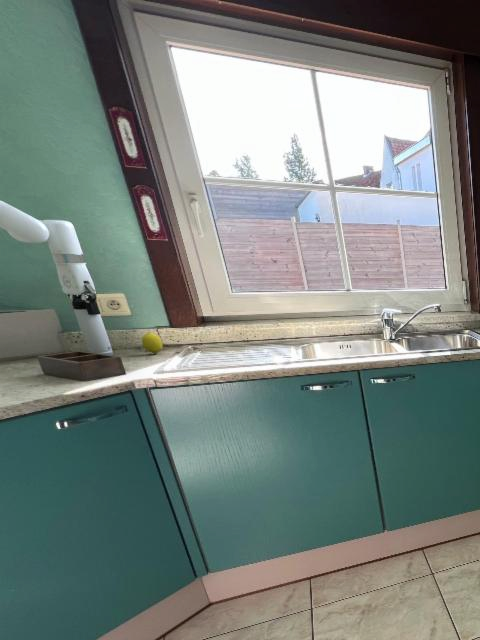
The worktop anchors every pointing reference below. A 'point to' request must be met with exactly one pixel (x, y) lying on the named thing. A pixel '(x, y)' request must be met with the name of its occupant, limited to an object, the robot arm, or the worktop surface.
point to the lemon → (152, 343)
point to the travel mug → (92, 329)
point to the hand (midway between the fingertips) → (88, 313)
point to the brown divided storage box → (81, 365)
